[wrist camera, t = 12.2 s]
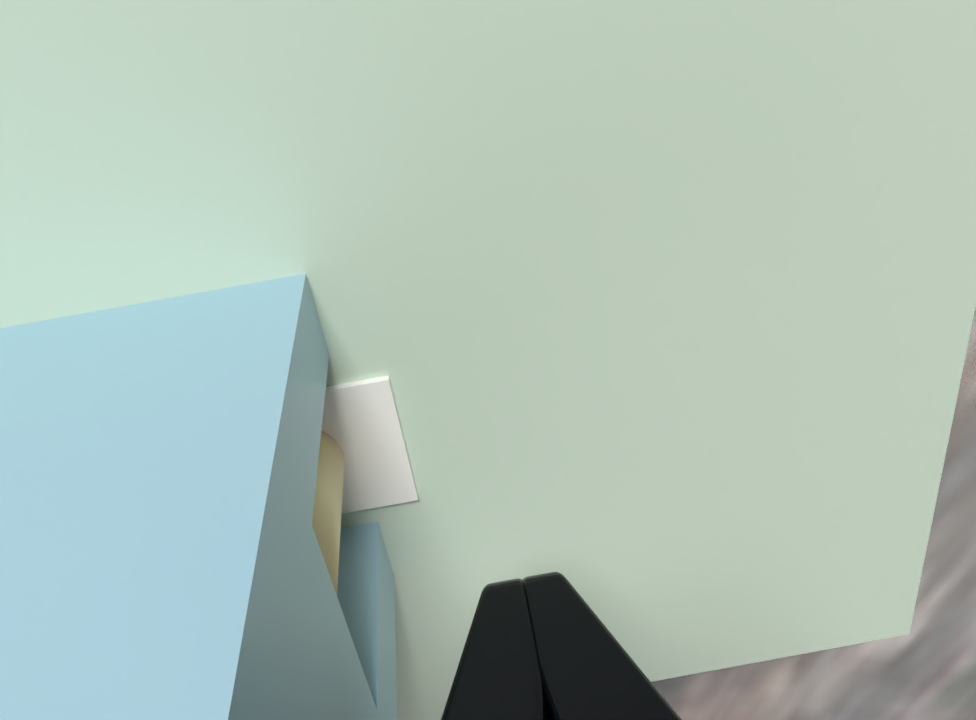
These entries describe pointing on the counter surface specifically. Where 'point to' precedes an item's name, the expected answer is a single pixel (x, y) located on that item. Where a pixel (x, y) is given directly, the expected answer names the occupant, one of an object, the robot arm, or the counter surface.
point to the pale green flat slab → (550, 281)
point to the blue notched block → (181, 520)
